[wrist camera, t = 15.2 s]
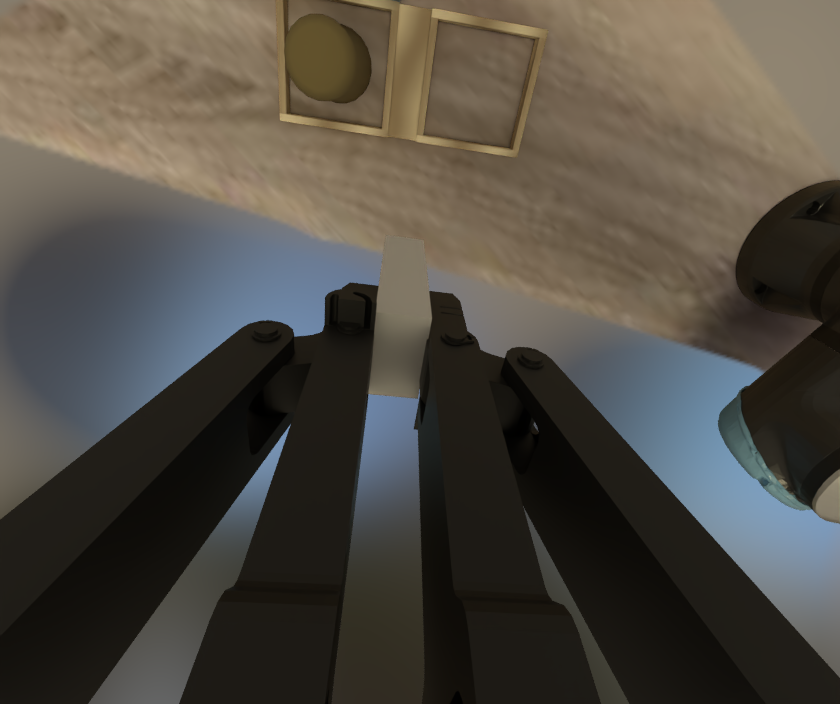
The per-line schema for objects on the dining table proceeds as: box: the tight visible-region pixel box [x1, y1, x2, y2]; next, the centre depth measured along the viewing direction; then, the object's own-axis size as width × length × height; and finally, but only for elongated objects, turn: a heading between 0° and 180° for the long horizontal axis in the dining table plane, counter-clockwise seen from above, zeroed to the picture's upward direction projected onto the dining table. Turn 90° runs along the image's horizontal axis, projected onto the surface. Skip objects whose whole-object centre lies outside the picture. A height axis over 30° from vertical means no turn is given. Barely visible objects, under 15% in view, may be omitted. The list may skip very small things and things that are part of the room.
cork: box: [284, 14, 371, 103], centre depth 33 cm, size 6×6×11 cm
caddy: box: [276, 0, 548, 158], centre depth 36 cm, size 23×11×4 cm, turn 82°
